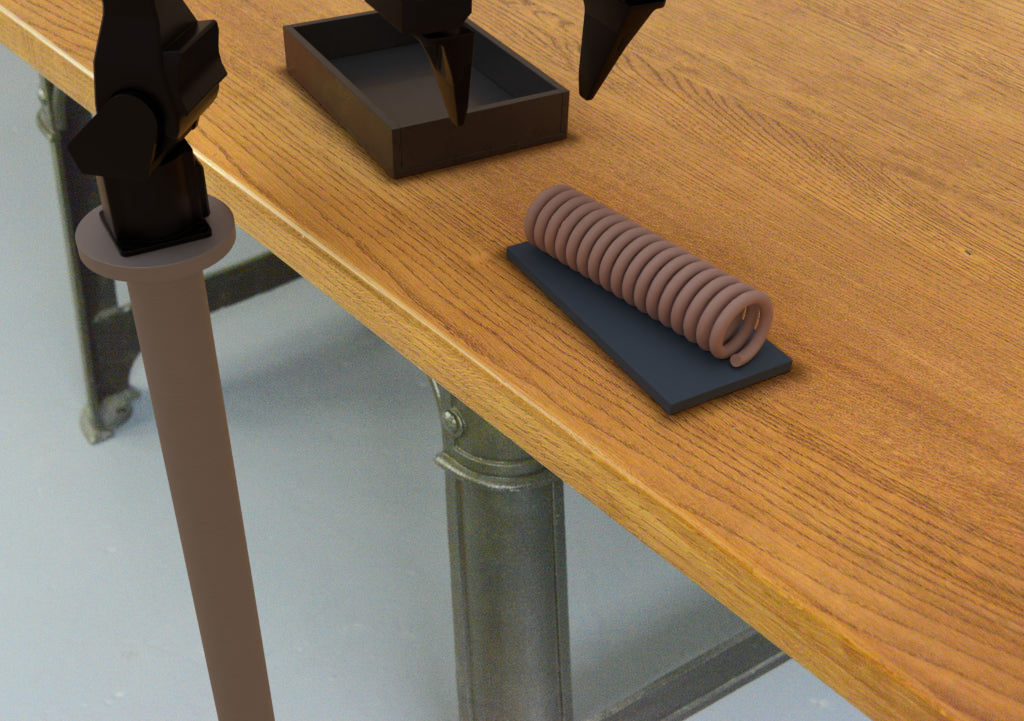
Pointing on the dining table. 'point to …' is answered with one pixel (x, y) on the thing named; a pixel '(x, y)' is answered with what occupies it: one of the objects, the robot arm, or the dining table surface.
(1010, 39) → the dining table surface
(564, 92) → the dark brown tray
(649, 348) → the pad
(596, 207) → the coil
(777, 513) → the dining table surface
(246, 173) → the dining table surface
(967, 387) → the dining table surface
